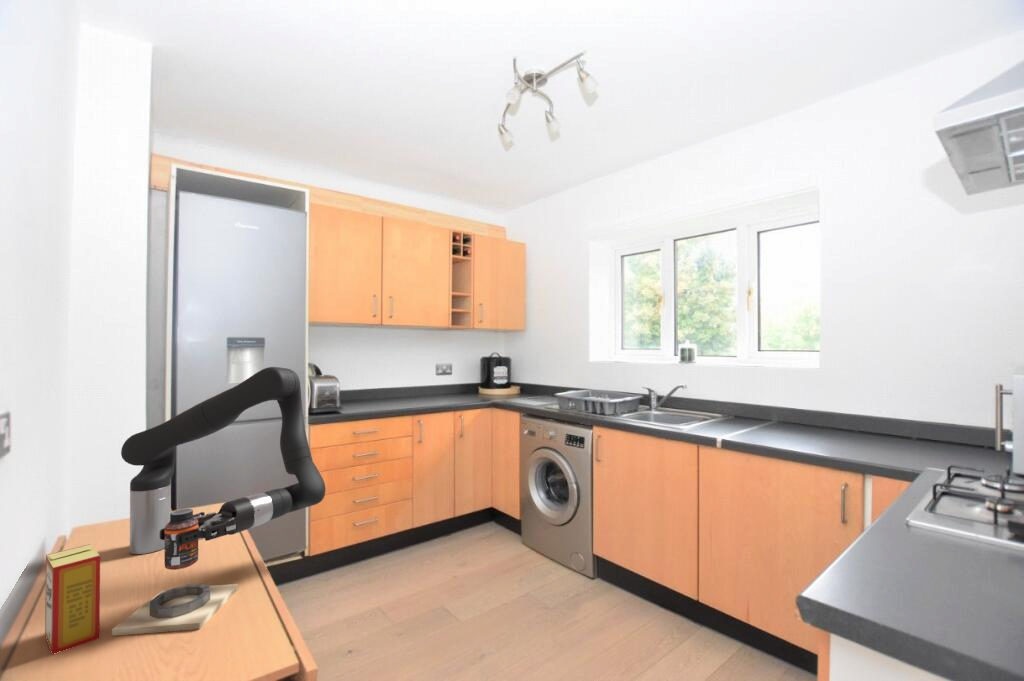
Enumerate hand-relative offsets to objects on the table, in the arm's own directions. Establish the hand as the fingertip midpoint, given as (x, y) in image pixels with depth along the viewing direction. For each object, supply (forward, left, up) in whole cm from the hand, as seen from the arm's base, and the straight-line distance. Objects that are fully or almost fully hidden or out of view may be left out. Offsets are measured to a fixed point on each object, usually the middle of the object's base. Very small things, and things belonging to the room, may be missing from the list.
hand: (168, 537), depth 98 cm
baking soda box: (+5, -14, -16) cm, 22 cm away
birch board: (-2, +1, -16) cm, 16 cm away
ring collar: (-2, +1, -15) cm, 15 cm away
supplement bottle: (-2, +1, -7) cm, 7 cm away
